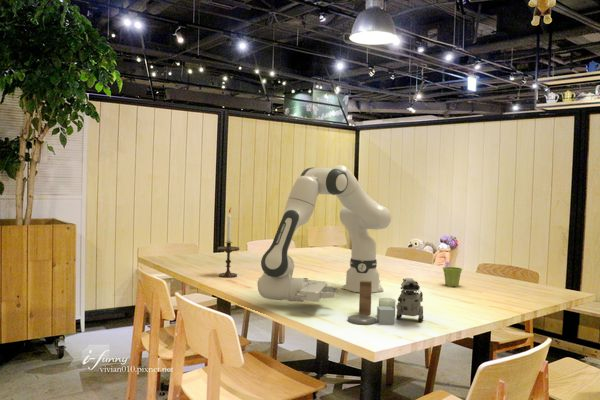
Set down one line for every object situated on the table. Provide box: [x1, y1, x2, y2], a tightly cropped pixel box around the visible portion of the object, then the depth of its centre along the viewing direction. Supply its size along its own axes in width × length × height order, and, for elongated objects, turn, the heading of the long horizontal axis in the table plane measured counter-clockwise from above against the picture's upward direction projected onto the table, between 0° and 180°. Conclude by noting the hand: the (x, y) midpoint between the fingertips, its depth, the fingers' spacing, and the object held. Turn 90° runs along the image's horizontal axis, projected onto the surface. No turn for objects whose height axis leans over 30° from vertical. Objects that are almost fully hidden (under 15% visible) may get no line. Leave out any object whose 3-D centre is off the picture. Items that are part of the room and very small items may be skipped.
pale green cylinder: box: [378, 297, 396, 318], centre depth 185 cm, size 6×6×6 cm
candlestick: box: [217, 207, 240, 279], centre depth 256 cm, size 11×11×35 cm
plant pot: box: [442, 266, 463, 288], centre depth 247 cm, size 9×9×9 cm
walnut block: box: [358, 280, 372, 316], centre depth 187 cm, size 4×4×12 cm
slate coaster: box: [347, 314, 378, 326], centre depth 177 cm, size 10×10×1 cm
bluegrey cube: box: [376, 305, 396, 325], centre depth 176 cm, size 5×5×5 cm
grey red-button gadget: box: [395, 277, 424, 323], centre depth 178 cm, size 9×12×15 cm
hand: (335, 292), depth 190 cm, fingers open, 8 cm apart
